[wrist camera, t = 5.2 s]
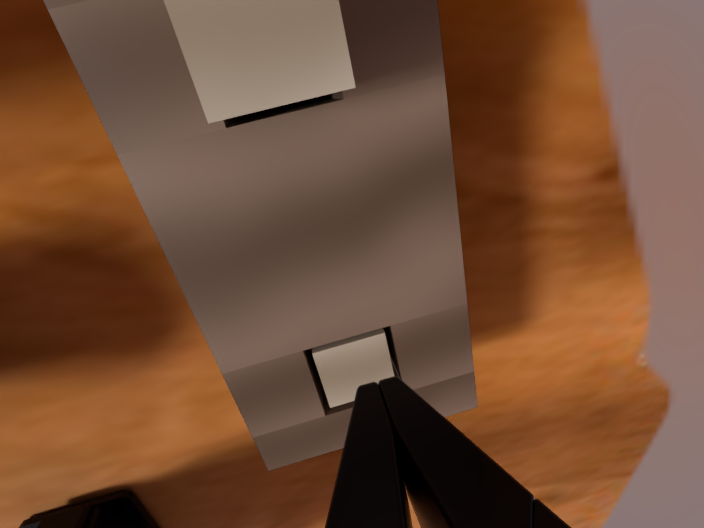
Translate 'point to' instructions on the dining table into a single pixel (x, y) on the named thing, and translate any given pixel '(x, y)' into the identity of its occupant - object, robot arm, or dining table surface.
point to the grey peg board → (296, 210)
